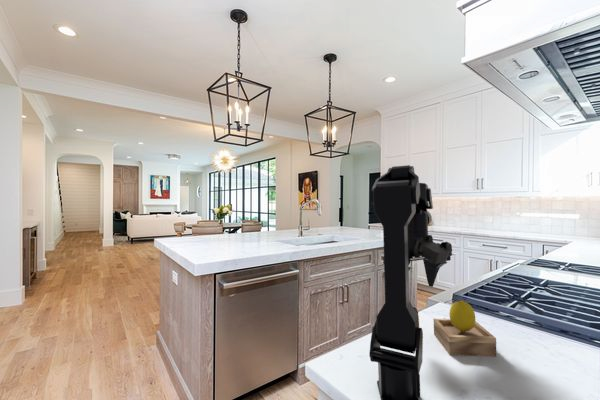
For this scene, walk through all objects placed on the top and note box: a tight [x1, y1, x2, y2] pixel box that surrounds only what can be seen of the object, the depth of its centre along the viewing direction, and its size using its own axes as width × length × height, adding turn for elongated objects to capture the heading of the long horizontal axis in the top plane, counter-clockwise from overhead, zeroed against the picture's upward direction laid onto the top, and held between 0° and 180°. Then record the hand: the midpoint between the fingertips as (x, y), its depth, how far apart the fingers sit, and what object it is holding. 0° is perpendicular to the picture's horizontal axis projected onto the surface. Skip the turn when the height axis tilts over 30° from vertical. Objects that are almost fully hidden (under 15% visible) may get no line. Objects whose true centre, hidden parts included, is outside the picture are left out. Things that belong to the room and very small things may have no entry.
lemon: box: [449, 299, 476, 333], centre depth 69 cm, size 6×6×8 cm
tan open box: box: [433, 318, 498, 358], centre depth 69 cm, size 10×10×4 cm
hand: (418, 288), depth 76 cm, fingers open, 9 cm apart
